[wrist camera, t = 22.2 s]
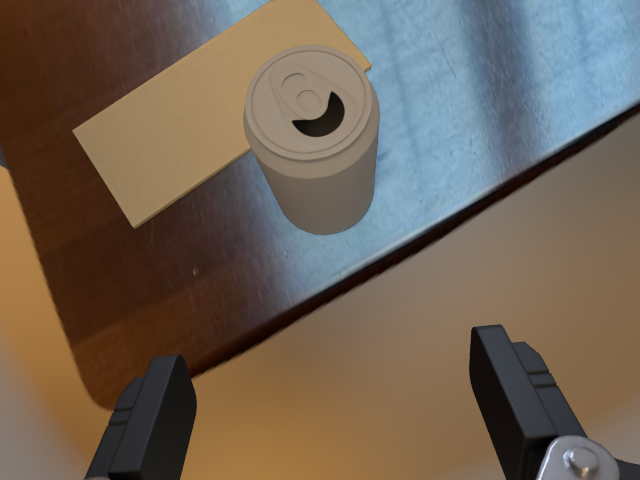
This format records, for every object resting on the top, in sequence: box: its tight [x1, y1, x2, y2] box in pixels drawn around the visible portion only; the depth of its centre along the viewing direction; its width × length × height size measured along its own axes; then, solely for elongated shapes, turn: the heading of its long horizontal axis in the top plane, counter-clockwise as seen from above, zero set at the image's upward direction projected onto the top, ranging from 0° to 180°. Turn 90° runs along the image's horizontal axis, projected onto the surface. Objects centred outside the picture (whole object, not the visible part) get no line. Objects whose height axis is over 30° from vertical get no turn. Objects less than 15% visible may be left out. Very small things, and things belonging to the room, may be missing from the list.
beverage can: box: [243, 45, 380, 235], centre depth 27 cm, size 6×6×12 cm
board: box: [72, 0, 372, 229], centre depth 35 cm, size 20×9×1 cm, turn 125°
